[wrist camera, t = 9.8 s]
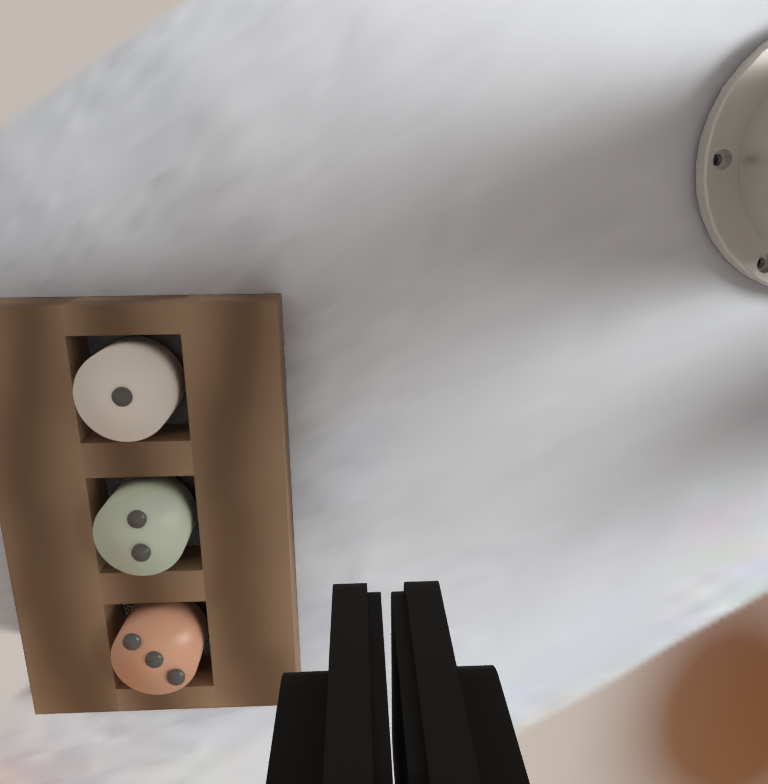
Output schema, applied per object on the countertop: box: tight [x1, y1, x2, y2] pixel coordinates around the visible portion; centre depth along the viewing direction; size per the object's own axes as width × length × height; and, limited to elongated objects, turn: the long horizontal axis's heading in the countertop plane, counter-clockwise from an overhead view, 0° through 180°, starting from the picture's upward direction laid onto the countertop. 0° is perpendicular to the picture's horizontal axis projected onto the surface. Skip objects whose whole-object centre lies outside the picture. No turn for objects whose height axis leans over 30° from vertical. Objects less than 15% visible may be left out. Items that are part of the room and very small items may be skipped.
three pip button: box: [111, 602, 208, 695], centre depth 37 cm, size 4×4×3 cm
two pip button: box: [93, 476, 197, 576], centre depth 35 cm, size 4×4×3 cm
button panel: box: [0, 294, 301, 714], centre depth 36 cm, size 14×22×2 cm, turn 1°
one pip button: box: [73, 336, 185, 442], centre depth 33 cm, size 4×4×3 cm
